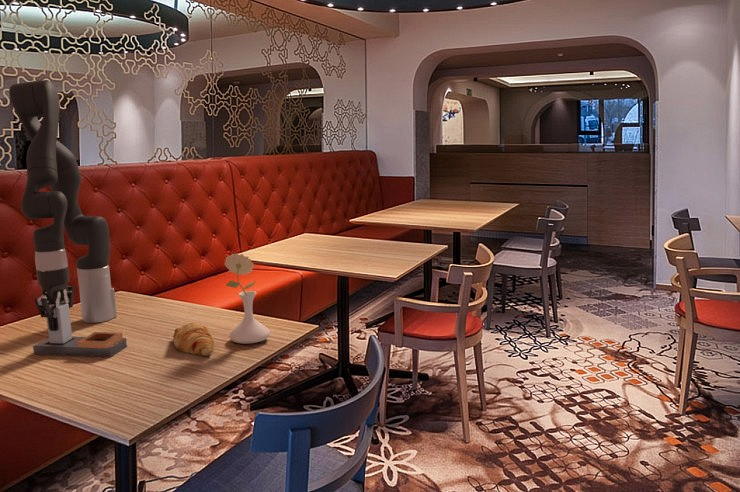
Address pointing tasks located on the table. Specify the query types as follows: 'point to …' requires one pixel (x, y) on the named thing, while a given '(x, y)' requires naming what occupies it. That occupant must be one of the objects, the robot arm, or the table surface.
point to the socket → (84, 346)
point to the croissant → (193, 339)
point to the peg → (61, 325)
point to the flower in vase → (245, 304)
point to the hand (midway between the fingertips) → (59, 327)
